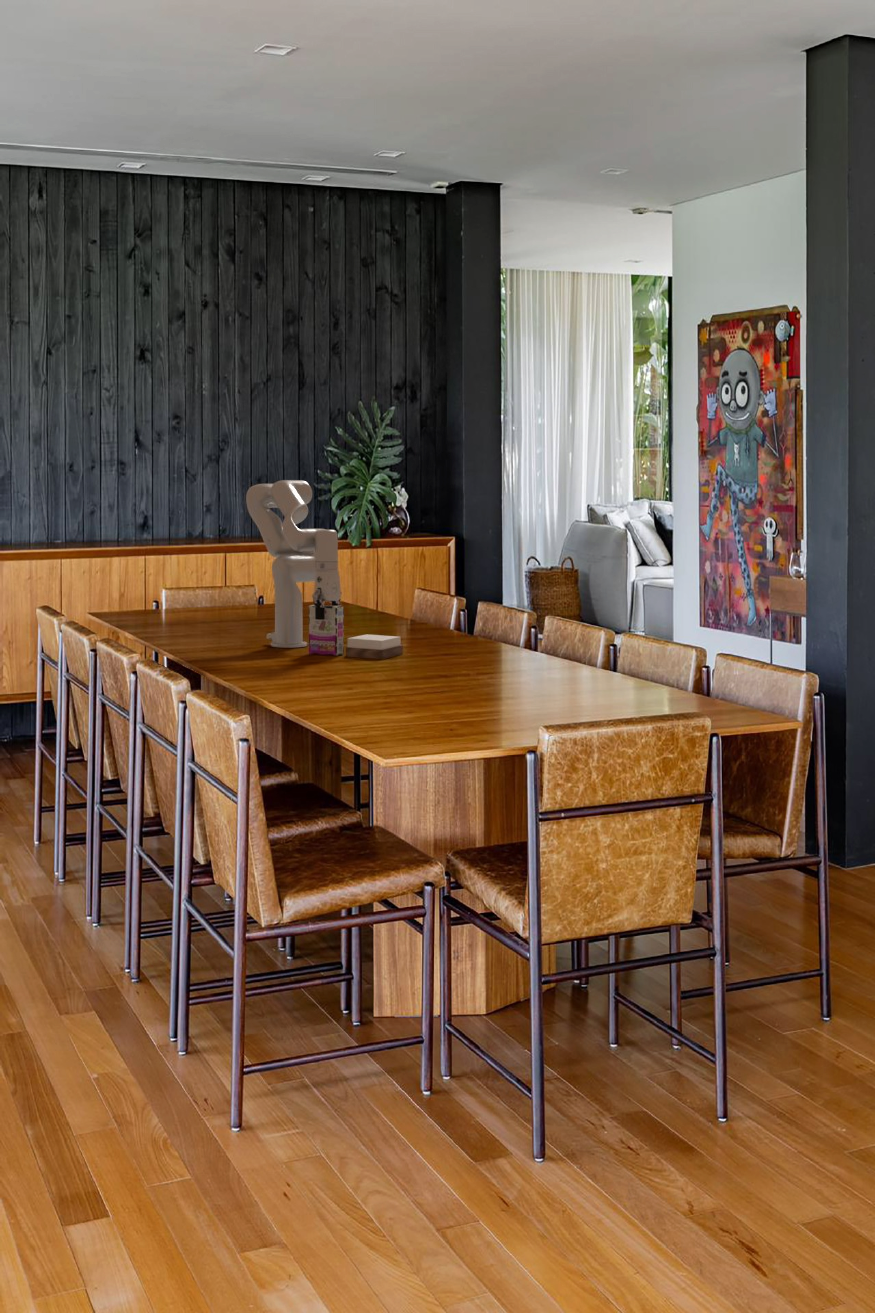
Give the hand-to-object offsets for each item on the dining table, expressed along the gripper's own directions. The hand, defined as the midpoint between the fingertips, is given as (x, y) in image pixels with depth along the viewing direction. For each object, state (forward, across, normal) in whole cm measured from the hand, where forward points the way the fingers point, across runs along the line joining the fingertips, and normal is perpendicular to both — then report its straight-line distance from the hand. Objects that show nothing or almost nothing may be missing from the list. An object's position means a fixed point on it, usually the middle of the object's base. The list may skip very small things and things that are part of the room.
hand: (327, 618), depth 471 cm
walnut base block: (+13, +6, -14) cm, 20 cm away
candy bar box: (+12, 0, +1) cm, 12 cm away
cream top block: (+10, +6, -14) cm, 18 cm away
